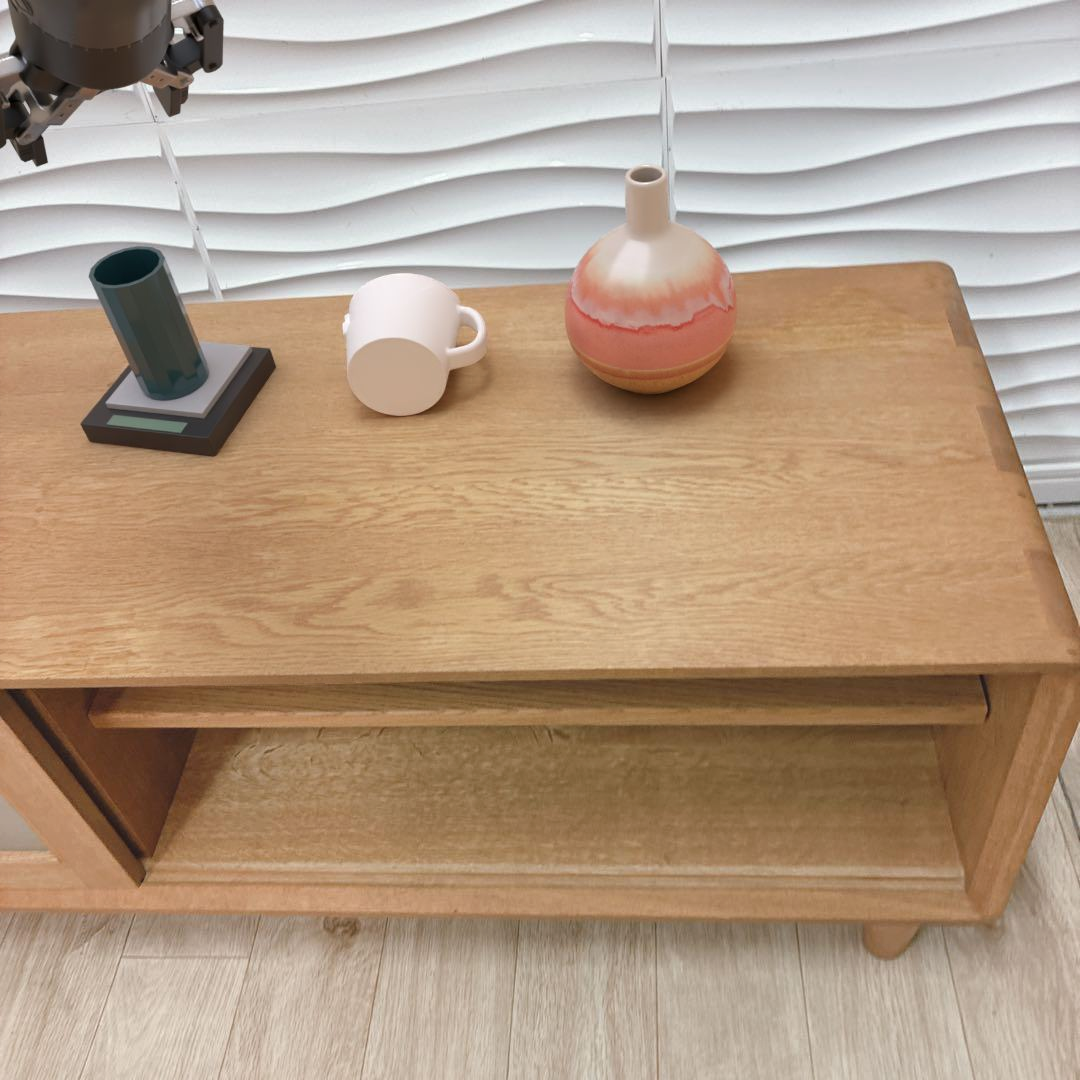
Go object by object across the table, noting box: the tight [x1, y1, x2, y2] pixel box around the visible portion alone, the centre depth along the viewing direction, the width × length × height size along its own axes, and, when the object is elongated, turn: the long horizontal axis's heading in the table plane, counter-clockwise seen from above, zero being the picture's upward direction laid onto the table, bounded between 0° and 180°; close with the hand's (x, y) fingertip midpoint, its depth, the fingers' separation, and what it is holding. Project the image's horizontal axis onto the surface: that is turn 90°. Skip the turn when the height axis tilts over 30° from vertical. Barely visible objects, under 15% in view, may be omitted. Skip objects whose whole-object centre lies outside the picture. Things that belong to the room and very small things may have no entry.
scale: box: [80, 340, 277, 457], centre depth 92 cm, size 12×12×3 cm
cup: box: [88, 245, 209, 401], centre depth 87 cm, size 6×6×11 cm
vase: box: [564, 163, 738, 395], centre depth 84 cm, size 14×14×18 cm
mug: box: [342, 272, 489, 417], centre depth 89 cm, size 12×9×8 cm
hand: (100, 126), depth 66 cm, fingers open, 8 cm apart
